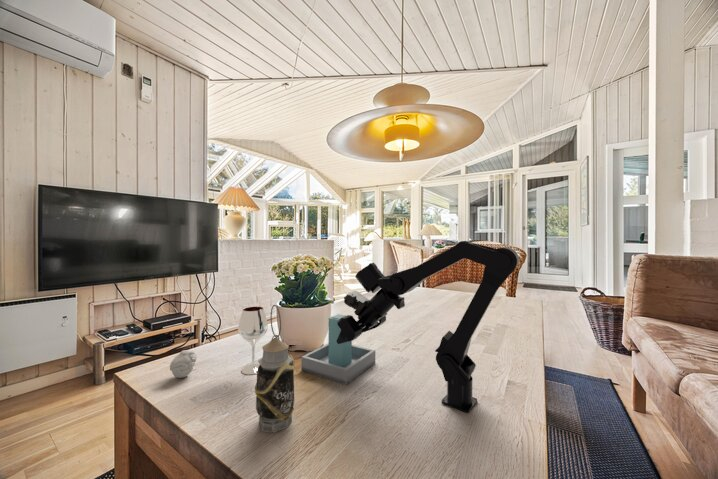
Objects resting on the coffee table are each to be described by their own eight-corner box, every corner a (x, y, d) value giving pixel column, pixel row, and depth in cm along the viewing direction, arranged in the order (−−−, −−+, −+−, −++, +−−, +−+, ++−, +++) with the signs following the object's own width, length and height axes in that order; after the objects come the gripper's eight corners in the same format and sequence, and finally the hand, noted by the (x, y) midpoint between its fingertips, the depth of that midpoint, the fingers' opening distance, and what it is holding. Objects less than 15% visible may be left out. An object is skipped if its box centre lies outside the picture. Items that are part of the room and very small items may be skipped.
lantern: (300, 427, 61) (300, 307, 61) (260, 441, 57) (260, 312, 56) (286, 406, 68) (286, 299, 68) (250, 417, 64) (250, 303, 63)
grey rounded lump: (201, 372, 85) (201, 348, 85) (180, 384, 78) (180, 358, 78) (185, 369, 87) (185, 346, 87) (163, 380, 80) (163, 355, 80)
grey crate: (346, 385, 78) (346, 370, 78) (301, 370, 86) (301, 356, 86) (375, 363, 91) (375, 350, 91) (334, 352, 100) (334, 340, 100)
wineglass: (233, 369, 87) (233, 309, 86) (259, 361, 93) (259, 304, 92) (246, 379, 81) (246, 314, 81) (272, 369, 87) (273, 308, 87)
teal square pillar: (351, 362, 90) (351, 316, 89) (342, 368, 85) (342, 319, 85) (338, 358, 92) (338, 313, 92) (328, 364, 88) (328, 317, 88)
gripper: (377, 279, 92) (348, 309, 98) (342, 288, 76) (311, 323, 82) (400, 307, 88) (368, 337, 94) (369, 322, 72) (333, 357, 78)
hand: (346, 337), depth 87 cm, fingers open, 9 cm apart
